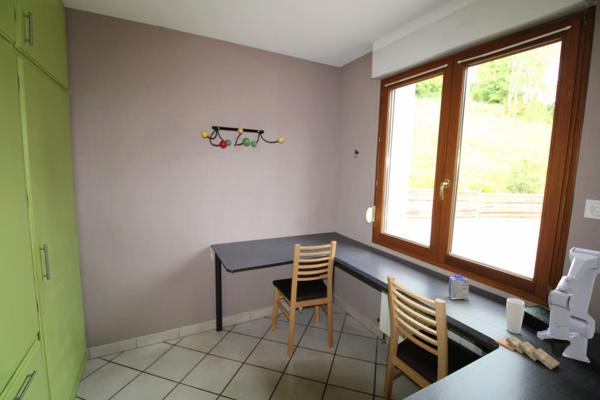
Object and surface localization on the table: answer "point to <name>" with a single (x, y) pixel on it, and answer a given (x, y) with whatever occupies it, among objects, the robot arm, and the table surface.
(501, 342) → the salmon orange block
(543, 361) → the domino
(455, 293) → the ink cartridge box
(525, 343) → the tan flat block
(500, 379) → the table surface
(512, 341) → the domino
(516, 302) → the drinking glass
